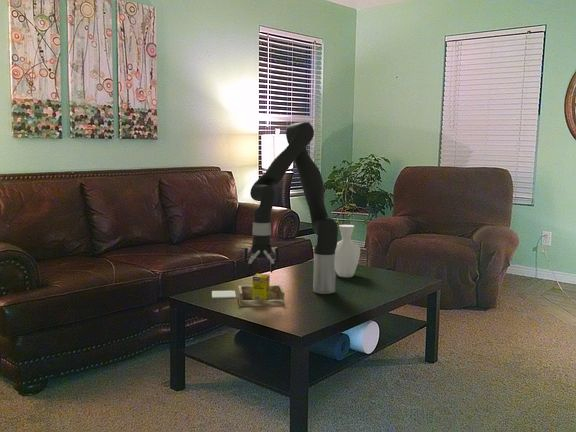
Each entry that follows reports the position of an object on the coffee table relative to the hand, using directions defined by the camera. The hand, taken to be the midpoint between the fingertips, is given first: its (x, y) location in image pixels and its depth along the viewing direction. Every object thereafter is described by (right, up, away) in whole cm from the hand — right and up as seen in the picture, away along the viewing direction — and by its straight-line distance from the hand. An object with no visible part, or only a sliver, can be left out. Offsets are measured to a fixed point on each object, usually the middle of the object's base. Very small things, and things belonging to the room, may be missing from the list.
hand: (260, 272), depth 233 cm
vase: (+40, -7, +51) cm, 65 cm away
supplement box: (0, -12, +1) cm, 12 cm away
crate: (0, -12, +1) cm, 12 cm away
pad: (-16, -11, +10) cm, 22 cm away
